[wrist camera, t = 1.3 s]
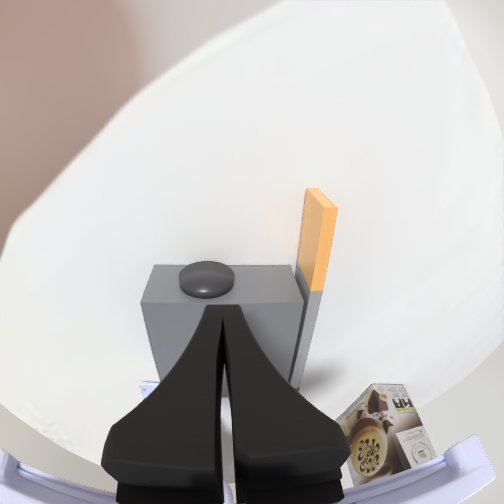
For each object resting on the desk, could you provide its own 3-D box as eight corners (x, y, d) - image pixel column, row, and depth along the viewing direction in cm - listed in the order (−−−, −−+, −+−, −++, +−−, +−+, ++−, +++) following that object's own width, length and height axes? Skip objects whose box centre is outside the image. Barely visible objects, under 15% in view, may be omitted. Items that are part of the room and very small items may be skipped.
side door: (290, 361, 26) (298, 392, 23) (280, 361, 26) (287, 393, 23) (319, 188, 19) (339, 207, 15) (304, 187, 19) (322, 206, 15)
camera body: (277, 356, 26) (285, 398, 22) (170, 357, 25) (164, 399, 21) (290, 258, 21) (306, 298, 17) (153, 257, 20) (137, 297, 16)
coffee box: (370, 382, 31) (415, 495, 16) (404, 383, 32) (449, 480, 18) (332, 421, 34) (360, 521, 20) (366, 420, 36) (397, 509, 22)
